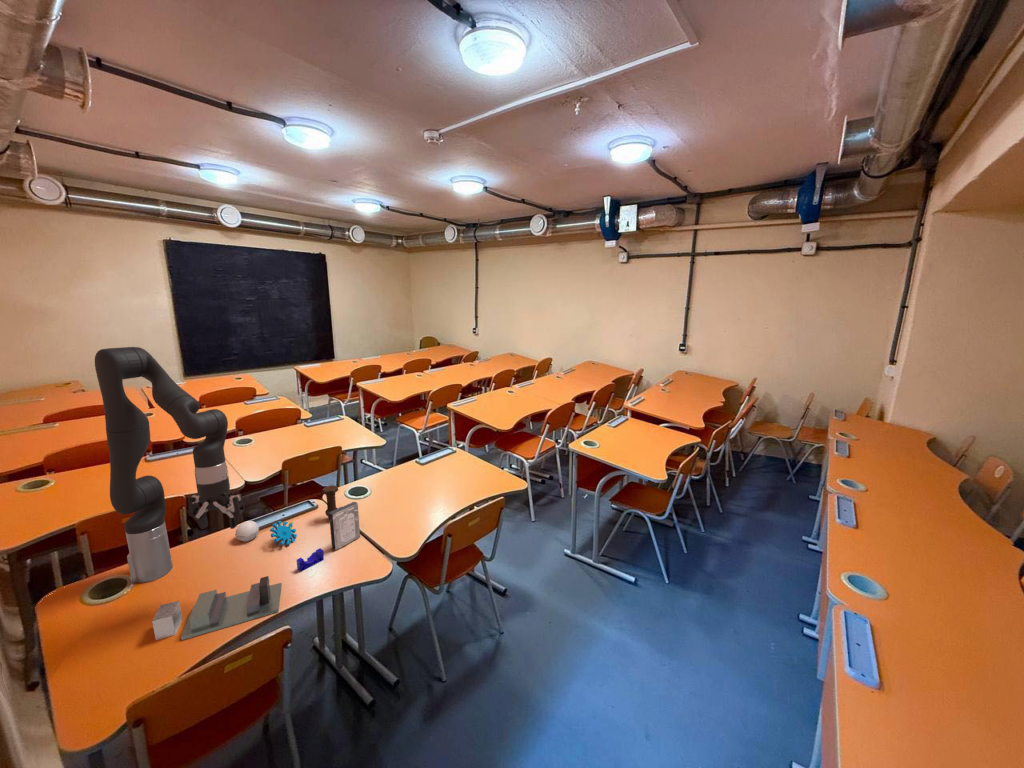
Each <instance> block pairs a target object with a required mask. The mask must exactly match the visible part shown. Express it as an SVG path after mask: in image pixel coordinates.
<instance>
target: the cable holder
mask: <svg viewBox="0 0 1024 768" xmlns="http://www.w3.org/2000/svg"><path fill="white" fill-rule="evenodd" d="M324 559H325V558H324V550H323V549H322V548H321V547H319V548H317V549H315V551H314V552H312V553H311V554H310V556H308V557H307V558H306V560H304V558H302V557H299V558H297V559H296V569H297V571H298V572H300V573H302V572H303V571H305V570H308V569H309V568H311V567H313V566H315V565H317V564H319V563H321V562H322V561H324Z"/></svg>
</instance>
